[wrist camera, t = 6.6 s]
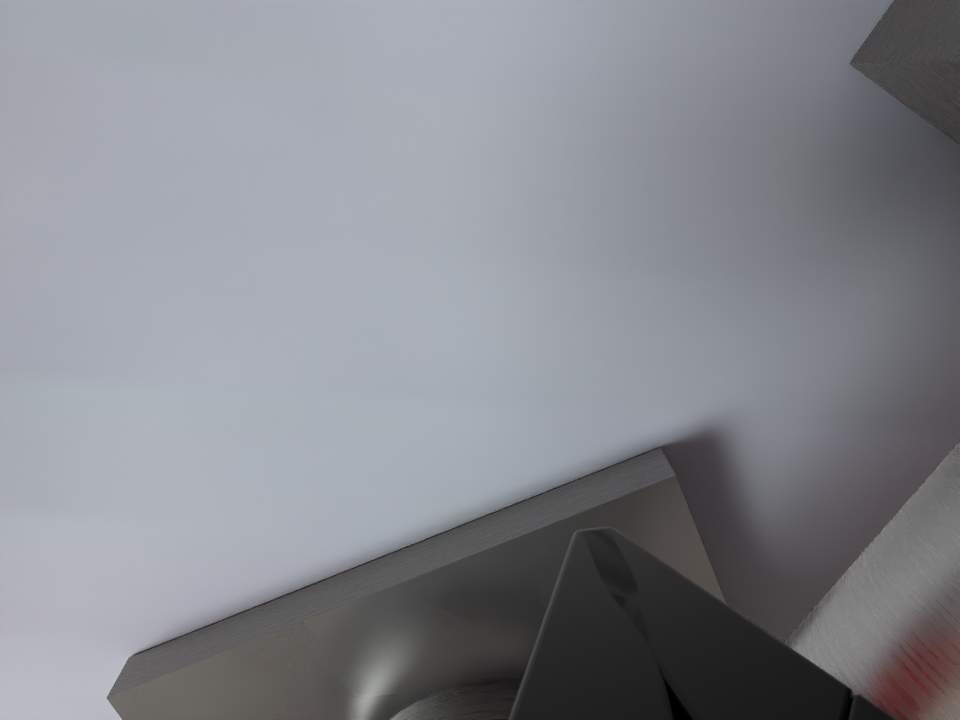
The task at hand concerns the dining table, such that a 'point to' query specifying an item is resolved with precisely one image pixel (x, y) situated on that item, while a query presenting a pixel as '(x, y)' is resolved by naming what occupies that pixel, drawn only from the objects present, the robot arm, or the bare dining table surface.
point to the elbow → (899, 609)
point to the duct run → (918, 59)
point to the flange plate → (414, 617)
